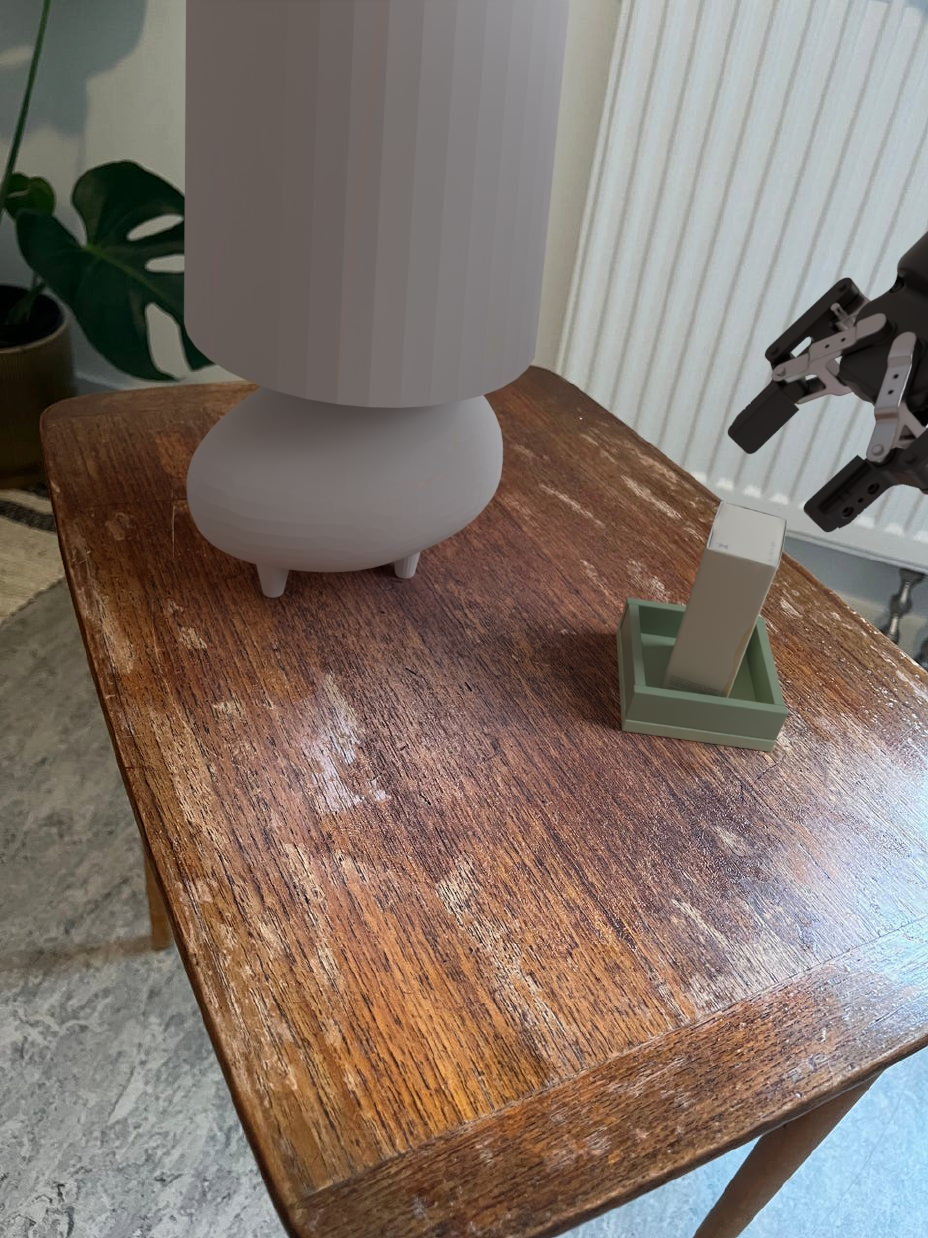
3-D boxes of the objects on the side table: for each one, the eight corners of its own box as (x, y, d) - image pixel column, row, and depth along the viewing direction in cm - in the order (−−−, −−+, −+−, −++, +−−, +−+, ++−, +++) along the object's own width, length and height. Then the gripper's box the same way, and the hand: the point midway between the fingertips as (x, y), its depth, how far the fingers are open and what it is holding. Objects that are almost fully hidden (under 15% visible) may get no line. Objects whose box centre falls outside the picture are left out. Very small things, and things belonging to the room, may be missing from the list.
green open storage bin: (771, 752, 62) (789, 714, 60) (621, 731, 62) (634, 692, 60) (749, 652, 70) (764, 615, 68) (615, 633, 70) (626, 596, 68)
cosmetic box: (720, 720, 63) (780, 572, 55) (653, 698, 63) (704, 548, 56) (734, 662, 67) (792, 517, 59) (672, 642, 68) (721, 497, 60)
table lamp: (260, 711, 60) (239, -75, 34) (144, 526, 73) (66, -142, 47) (553, 612, 71) (702, -40, 45) (406, 467, 84) (457, -102, 58)
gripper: (904, 154, 51) (678, 388, 56) (1109, 234, 40) (806, 515, 45) (963, 246, 55) (749, 455, 60) (1164, 341, 44) (881, 586, 49)
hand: (773, 481), depth 53 cm, fingers open, 8 cm apart
